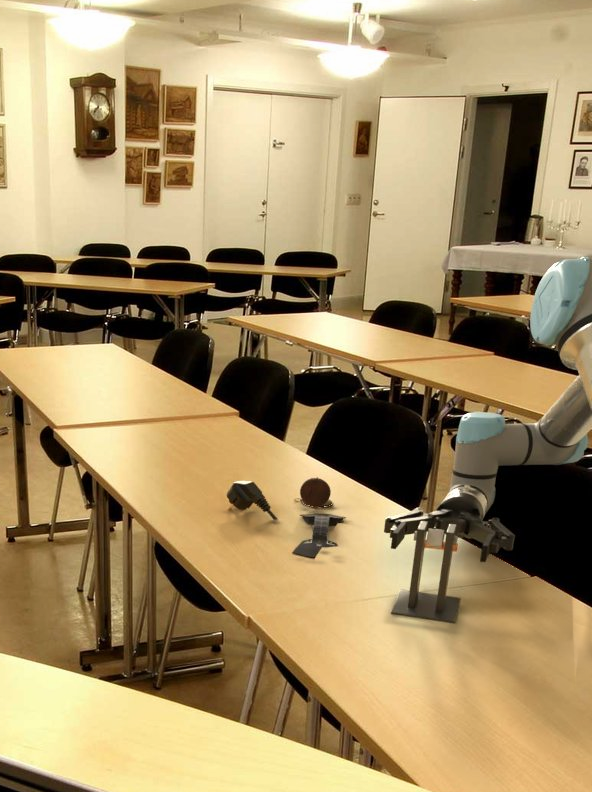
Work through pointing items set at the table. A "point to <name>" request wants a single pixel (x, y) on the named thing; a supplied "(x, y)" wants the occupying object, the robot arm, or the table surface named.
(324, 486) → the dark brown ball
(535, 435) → the robot arm
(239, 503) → the power plug
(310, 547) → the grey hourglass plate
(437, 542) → the lever
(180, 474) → the table surface
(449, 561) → the stand
